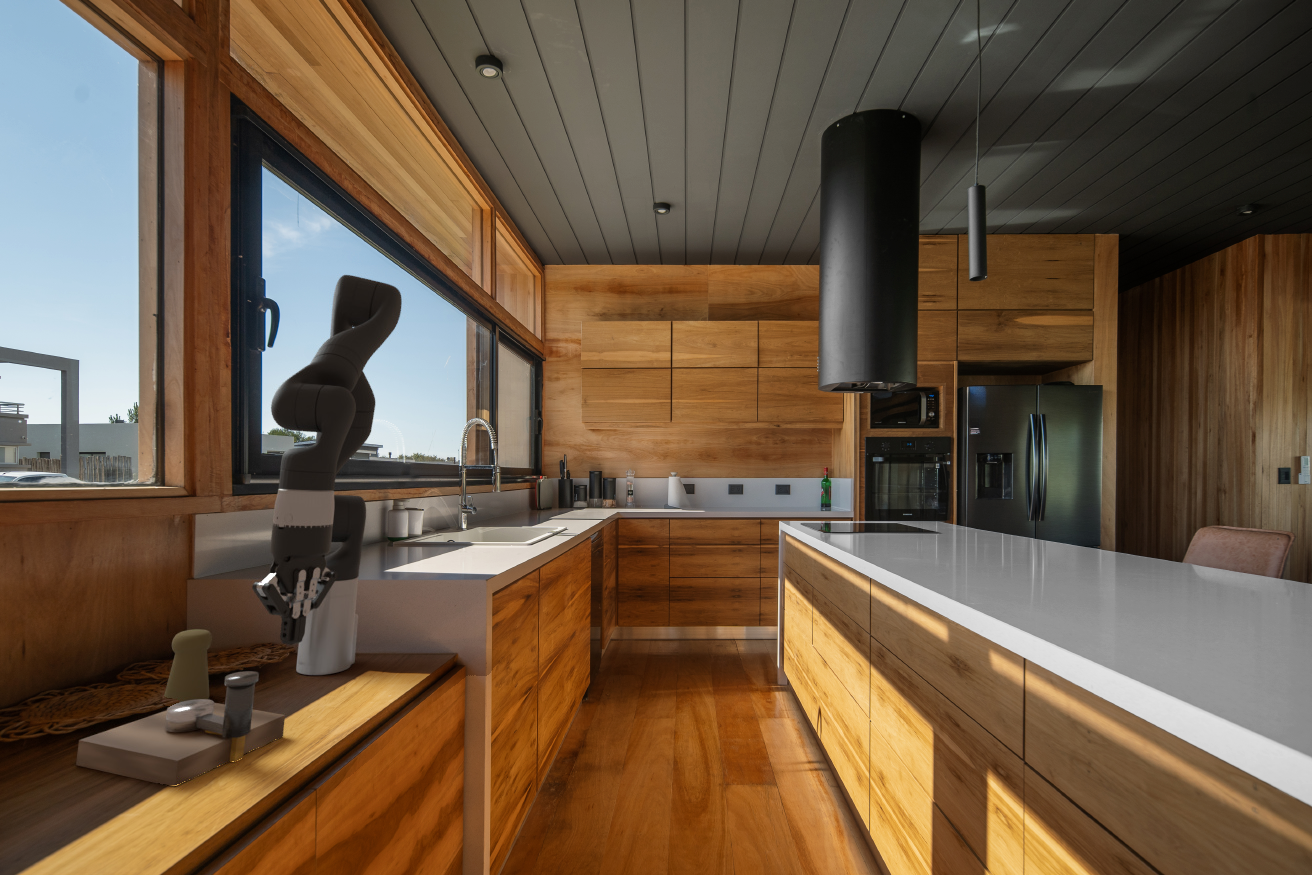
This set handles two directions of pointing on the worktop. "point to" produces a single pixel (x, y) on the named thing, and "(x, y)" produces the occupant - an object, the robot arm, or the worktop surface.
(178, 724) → the metal lever handle
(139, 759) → the stand
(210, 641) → the olive tapered upright piece
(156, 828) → the worktop surface
